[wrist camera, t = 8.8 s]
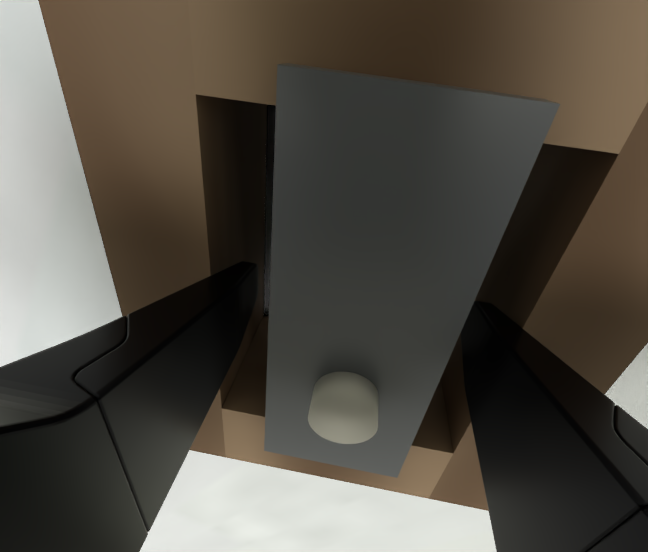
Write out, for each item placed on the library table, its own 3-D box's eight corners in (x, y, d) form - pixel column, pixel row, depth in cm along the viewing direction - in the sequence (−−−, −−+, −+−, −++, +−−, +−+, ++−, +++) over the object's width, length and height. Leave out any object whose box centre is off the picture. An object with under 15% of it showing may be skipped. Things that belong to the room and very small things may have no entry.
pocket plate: (692, -6, 8) (981, -57, 4) (475, 401, 15) (504, 514, 12) (168, -66, 8) (-3, -156, 5) (209, 351, 16) (156, 443, 12)
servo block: (481, 78, 9) (587, 113, 4) (393, 358, 14) (398, 506, 10) (324, 57, 9) (261, 66, 4) (296, 340, 15) (256, 477, 10)
